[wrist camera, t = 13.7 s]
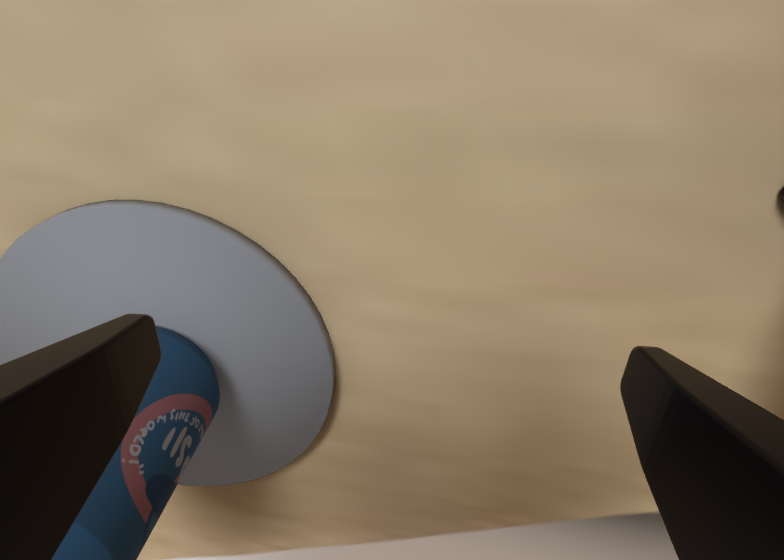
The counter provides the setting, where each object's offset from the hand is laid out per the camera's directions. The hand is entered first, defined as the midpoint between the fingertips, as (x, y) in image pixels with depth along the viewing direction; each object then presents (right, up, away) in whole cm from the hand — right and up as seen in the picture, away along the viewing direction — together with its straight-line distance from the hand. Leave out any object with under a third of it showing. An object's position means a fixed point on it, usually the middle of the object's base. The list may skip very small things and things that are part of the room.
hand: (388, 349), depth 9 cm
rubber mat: (-12, -3, +17) cm, 21 cm away
